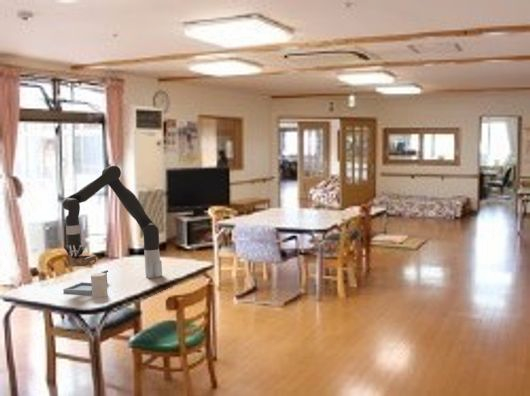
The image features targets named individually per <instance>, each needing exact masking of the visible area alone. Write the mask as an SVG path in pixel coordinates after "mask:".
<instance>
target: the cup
mask: <svg viewBox="0 0 530 396" xmlns="http://www.w3.org/2000/svg"><path fill="white" fill-rule="evenodd" d="M90 283H91V285H92V294H91V296H92V298H94V299H98V298H99V299H100V297H101V298H104V297H108V296H109V295H108V288H107V284H108V279H107V280H106V273H101V272H96V273H91V274H90Z"/></svg>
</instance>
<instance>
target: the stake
mask: <svg viewBox="0 0 530 396" xmlns="http://www.w3.org/2000/svg"><path fill="white" fill-rule="evenodd" d="M100 273H106V280H107V281H108V274H107V273H109V270H108V269H106V270H103V271H100Z"/></svg>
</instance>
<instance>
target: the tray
mask: <svg viewBox="0 0 530 396" xmlns="http://www.w3.org/2000/svg"><path fill="white" fill-rule="evenodd" d="M108 288H109V286H108V283H107V289H108ZM63 294H75V295H88V296H92V285H91V282H84V281H81V282H79V283H75V284H74V285H73V284H72V285H71V286H68V287H65V288H63Z"/></svg>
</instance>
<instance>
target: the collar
mask: <svg viewBox="0 0 530 396" xmlns="http://www.w3.org/2000/svg"><path fill="white" fill-rule="evenodd" d="M96 263H97V255H94V254H92V255H91V254H82V255H79V259H77V258H75V257H69V258H67V265H68V267H71V266H72V267H87V266H92V265H95V264H96Z"/></svg>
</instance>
